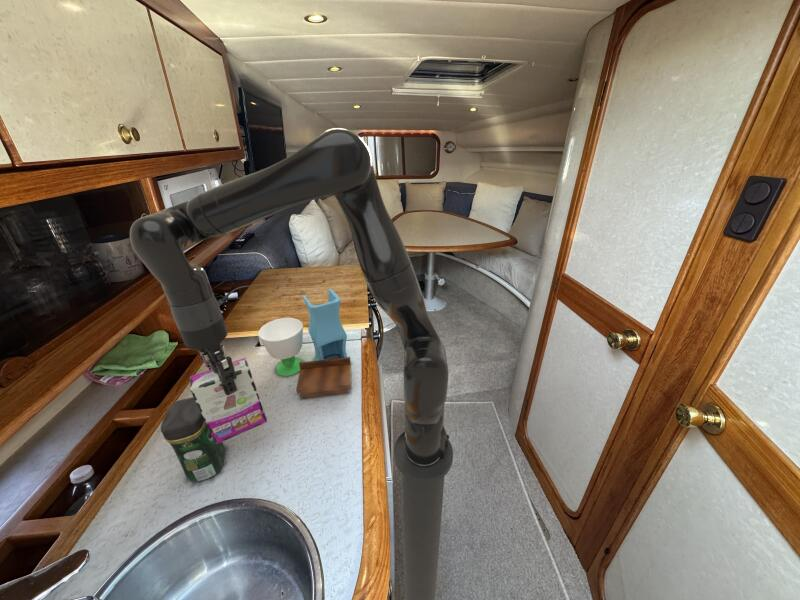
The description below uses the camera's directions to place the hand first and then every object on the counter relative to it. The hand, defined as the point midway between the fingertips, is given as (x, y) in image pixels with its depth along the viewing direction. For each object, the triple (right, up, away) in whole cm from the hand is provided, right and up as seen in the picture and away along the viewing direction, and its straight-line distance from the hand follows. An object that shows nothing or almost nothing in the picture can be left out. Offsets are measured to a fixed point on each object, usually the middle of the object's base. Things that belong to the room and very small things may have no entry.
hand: (225, 385), depth 67 cm
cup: (0, -5, +40) cm, 41 cm away
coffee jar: (-9, -22, +9) cm, 25 cm away
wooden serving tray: (+14, -9, +32) cm, 36 cm away
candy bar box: (0, -11, +6) cm, 13 cm away
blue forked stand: (+14, -3, +43) cm, 45 cm away
